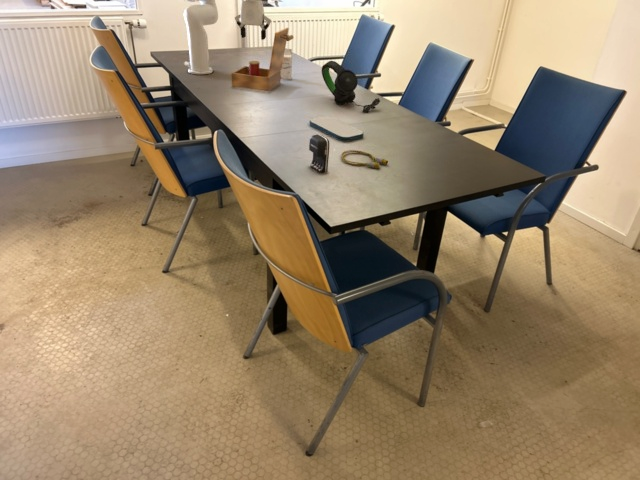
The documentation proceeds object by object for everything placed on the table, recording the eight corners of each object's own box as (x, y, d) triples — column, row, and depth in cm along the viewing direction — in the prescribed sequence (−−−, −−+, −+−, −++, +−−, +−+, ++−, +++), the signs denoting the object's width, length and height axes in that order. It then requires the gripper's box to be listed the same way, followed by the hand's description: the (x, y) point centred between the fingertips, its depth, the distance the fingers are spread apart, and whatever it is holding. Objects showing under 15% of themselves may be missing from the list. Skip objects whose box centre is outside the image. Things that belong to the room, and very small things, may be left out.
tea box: (231, 88, 234) (231, 73, 231) (245, 80, 247) (244, 66, 244) (268, 93, 230) (268, 78, 227) (280, 85, 243) (280, 70, 240)
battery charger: (306, 167, 162) (308, 133, 155) (316, 165, 163) (318, 132, 157) (318, 175, 157) (320, 141, 151) (328, 173, 159) (330, 139, 152)
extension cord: (361, 173, 160) (361, 167, 159) (334, 156, 171) (334, 150, 170) (390, 166, 165) (391, 161, 164) (362, 150, 177) (363, 145, 175)
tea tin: (247, 86, 235) (247, 62, 229) (251, 83, 239) (251, 60, 233) (257, 87, 234) (257, 63, 228) (261, 85, 238) (261, 61, 232)
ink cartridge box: (273, 79, 251) (273, 49, 243) (275, 77, 255) (275, 47, 248) (290, 80, 251) (290, 50, 243) (291, 78, 255) (292, 48, 247)
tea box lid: (275, 32, 216) (286, 36, 215) (287, 27, 228) (298, 30, 228) (267, 76, 227) (278, 80, 226) (279, 69, 240) (290, 72, 239)
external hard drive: (306, 124, 197) (306, 119, 196) (328, 119, 203) (329, 115, 202) (343, 143, 181) (343, 138, 180) (366, 138, 187) (367, 133, 186)
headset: (356, 129, 220) (316, 85, 227) (379, 112, 223) (339, 70, 230) (359, 106, 203) (316, 59, 210) (384, 88, 206) (341, 43, 213)
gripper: (230, -4, 216) (232, 37, 225) (267, -1, 212) (268, 41, 221) (237, -6, 222) (239, 35, 231) (273, -3, 218) (274, 38, 227)
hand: (253, 38), depth 226 cm, fingers open, 9 cm apart
